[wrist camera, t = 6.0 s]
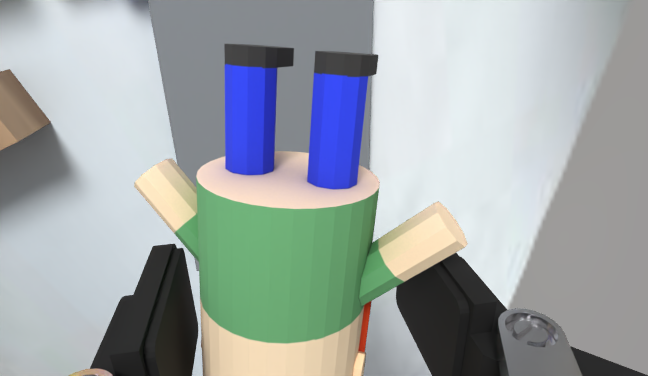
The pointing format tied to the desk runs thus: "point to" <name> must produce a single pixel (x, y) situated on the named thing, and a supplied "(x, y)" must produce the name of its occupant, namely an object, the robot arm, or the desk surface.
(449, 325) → the robot arm
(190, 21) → the mat
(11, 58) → the desk surface
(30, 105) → the walnut brick
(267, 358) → the toy figurine
